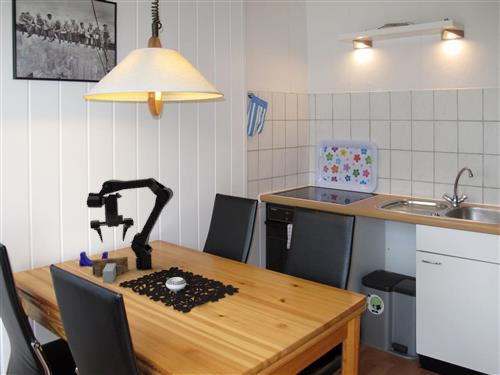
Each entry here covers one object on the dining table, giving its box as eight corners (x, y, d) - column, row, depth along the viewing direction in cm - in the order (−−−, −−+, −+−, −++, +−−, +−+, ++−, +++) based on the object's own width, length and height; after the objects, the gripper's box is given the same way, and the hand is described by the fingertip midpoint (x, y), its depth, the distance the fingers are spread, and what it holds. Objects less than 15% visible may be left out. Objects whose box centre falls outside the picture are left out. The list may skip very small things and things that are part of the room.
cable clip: (79, 266, 237) (78, 254, 236) (82, 264, 242) (82, 251, 241) (105, 266, 237) (104, 254, 236) (108, 264, 241) (107, 251, 241)
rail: (116, 274, 225) (116, 263, 224) (113, 282, 213) (112, 271, 212) (107, 274, 224) (106, 263, 224) (103, 283, 213) (102, 271, 212)
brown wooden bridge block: (127, 269, 231) (127, 256, 230) (129, 273, 225) (128, 260, 224) (92, 273, 226) (92, 259, 225) (93, 277, 220) (92, 263, 219)
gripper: (90, 212, 220) (92, 247, 222) (134, 209, 227) (135, 243, 229) (89, 208, 231) (91, 242, 233) (131, 205, 237) (132, 238, 239)
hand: (112, 241), depth 233 cm, fingers open, 9 cm apart
